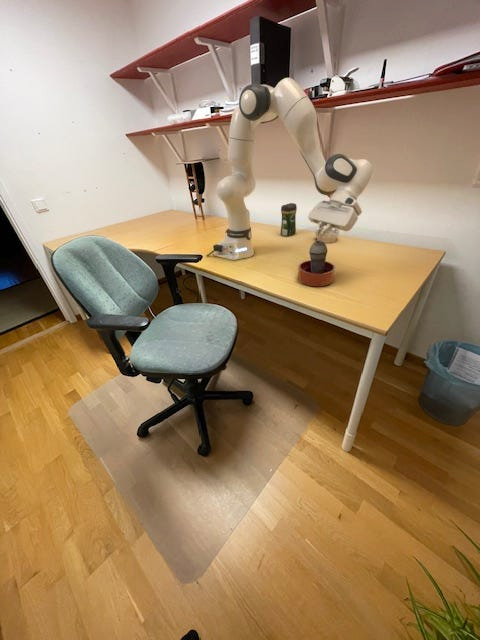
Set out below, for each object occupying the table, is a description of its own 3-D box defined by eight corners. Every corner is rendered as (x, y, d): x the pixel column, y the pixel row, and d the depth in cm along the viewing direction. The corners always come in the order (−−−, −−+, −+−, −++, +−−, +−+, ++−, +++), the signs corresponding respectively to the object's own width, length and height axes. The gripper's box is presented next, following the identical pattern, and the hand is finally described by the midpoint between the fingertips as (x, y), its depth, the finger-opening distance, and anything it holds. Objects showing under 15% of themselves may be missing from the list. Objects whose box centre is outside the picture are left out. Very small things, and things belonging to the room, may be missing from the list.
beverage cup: (312, 272, 115) (313, 227, 104) (328, 274, 111) (331, 228, 100) (305, 279, 111) (306, 232, 100) (322, 281, 107) (324, 233, 96)
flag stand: (342, 239, 151) (351, 182, 134) (328, 244, 145) (336, 185, 128) (324, 234, 160) (330, 181, 142) (310, 240, 154) (315, 184, 136)
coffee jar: (288, 231, 170) (289, 201, 160) (297, 233, 165) (299, 202, 155) (278, 235, 166) (278, 204, 155) (287, 237, 160) (288, 205, 150)
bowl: (293, 284, 108) (294, 271, 105) (302, 270, 119) (303, 258, 116) (329, 289, 103) (332, 276, 99) (335, 274, 113) (337, 261, 110)
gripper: (317, 195, 103) (297, 224, 105) (360, 201, 88) (335, 236, 90) (324, 205, 107) (304, 233, 109) (366, 213, 92) (342, 245, 94)
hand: (319, 234), depth 100 cm, fingers closed on beverage cup
